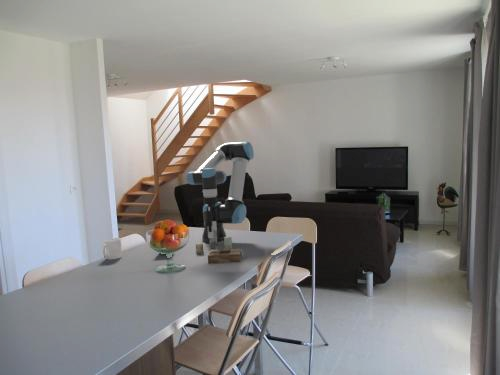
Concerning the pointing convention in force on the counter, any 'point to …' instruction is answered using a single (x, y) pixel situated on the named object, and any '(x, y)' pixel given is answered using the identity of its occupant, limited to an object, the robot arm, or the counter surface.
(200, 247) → the short pin
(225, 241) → the medium pin
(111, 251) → the cup
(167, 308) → the counter surface
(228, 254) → the hole board
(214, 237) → the long pin
